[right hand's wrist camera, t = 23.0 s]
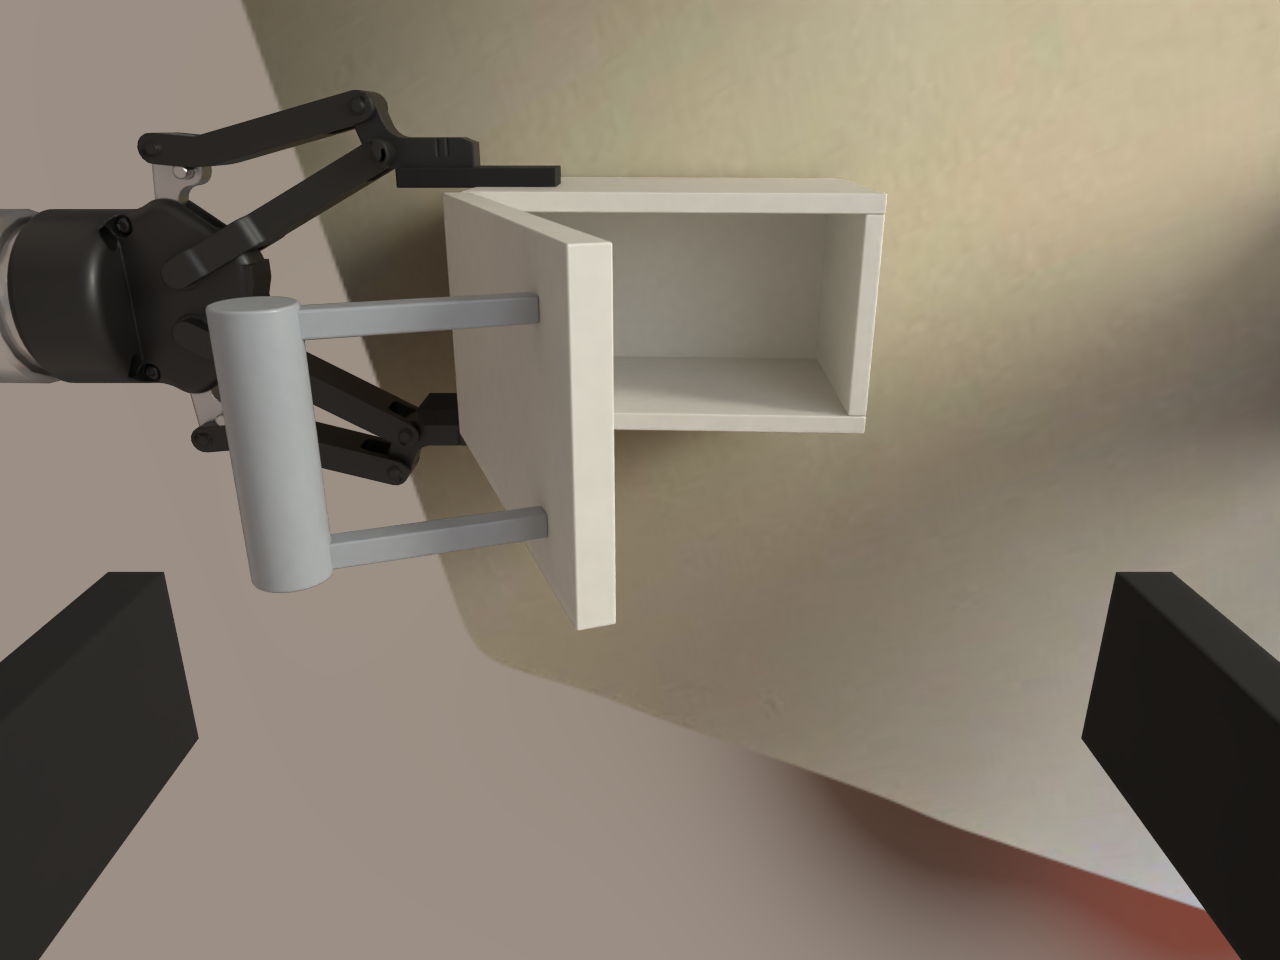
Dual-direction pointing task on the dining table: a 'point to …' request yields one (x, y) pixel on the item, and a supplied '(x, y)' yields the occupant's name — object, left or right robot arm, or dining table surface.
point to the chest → (731, 296)
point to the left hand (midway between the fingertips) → (561, 297)
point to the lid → (487, 406)
